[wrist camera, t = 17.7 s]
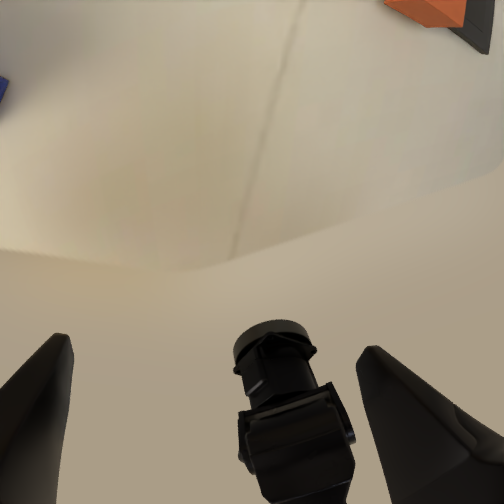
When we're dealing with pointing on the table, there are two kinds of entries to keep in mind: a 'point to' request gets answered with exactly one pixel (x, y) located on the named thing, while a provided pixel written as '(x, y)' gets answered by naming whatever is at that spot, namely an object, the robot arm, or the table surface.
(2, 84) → the ink box
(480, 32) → the dark grey flat panel
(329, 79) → the table surface
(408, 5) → the orange box
